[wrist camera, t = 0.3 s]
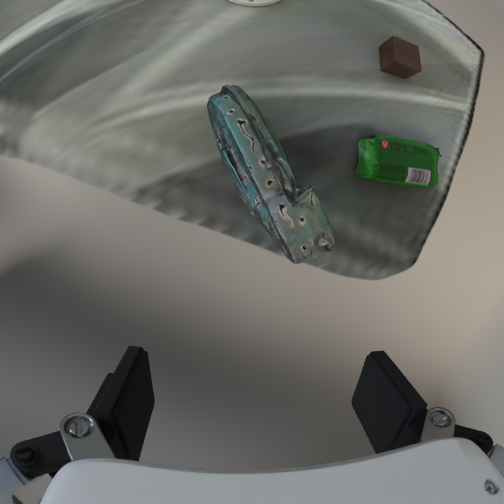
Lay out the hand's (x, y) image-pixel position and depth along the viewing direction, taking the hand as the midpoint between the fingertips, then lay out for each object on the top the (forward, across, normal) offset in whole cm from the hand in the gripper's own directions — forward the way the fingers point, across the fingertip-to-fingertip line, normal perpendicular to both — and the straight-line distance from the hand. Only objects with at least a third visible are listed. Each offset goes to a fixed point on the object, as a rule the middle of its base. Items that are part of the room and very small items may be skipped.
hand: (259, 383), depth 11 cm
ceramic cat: (+31, -1, -9) cm, 32 cm away
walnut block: (+31, -23, -32) cm, 50 cm away
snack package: (+31, -23, -14) cm, 41 cm away
